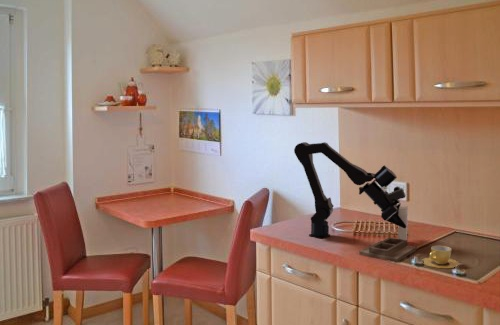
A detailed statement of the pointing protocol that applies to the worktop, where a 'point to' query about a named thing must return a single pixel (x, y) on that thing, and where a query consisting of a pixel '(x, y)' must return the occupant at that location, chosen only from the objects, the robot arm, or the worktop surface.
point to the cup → (440, 257)
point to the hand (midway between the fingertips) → (406, 224)
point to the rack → (389, 249)
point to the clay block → (404, 216)
